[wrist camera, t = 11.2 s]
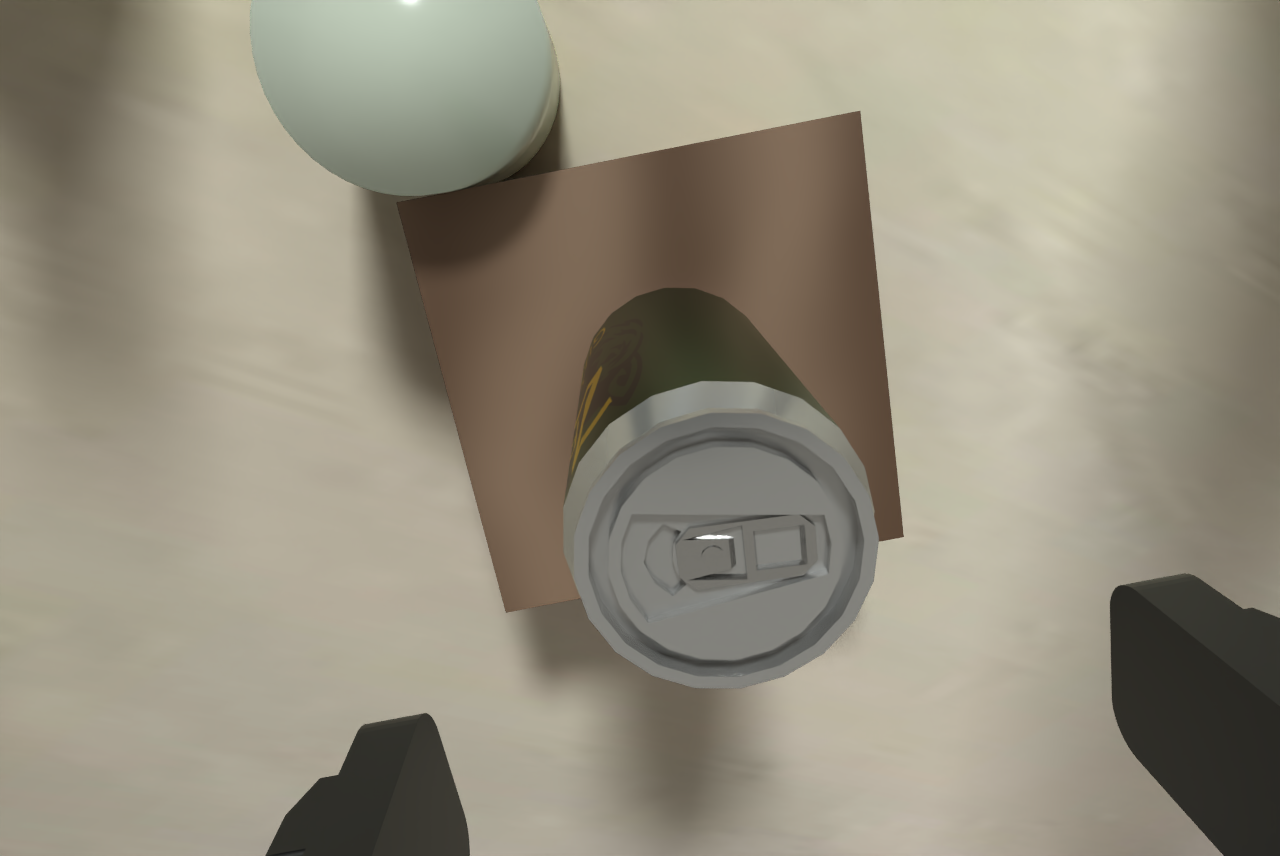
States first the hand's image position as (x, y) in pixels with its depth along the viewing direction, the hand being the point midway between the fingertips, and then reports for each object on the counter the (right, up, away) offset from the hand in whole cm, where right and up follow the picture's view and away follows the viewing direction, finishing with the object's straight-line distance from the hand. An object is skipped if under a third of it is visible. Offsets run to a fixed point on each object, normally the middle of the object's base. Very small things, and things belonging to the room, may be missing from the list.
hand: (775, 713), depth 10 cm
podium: (-1, +7, +21) cm, 22 cm away
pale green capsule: (-8, +15, +18) cm, 25 cm away
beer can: (-1, +5, +15) cm, 16 cm away
